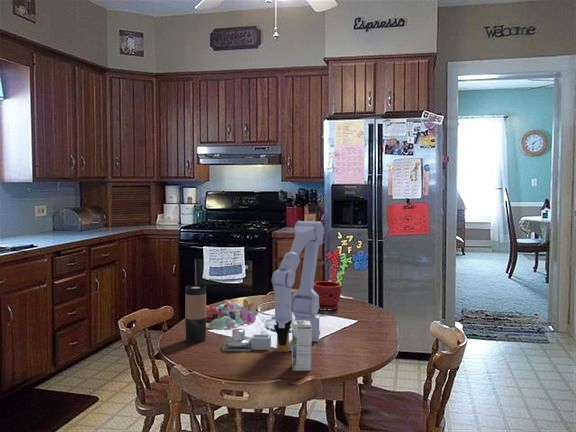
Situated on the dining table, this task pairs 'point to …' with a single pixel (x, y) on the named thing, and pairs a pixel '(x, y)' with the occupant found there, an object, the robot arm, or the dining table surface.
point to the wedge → (283, 348)
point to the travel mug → (195, 313)
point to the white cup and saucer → (237, 342)
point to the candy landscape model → (230, 315)
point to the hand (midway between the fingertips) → (283, 343)
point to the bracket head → (261, 341)
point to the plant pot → (328, 294)
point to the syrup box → (301, 345)
